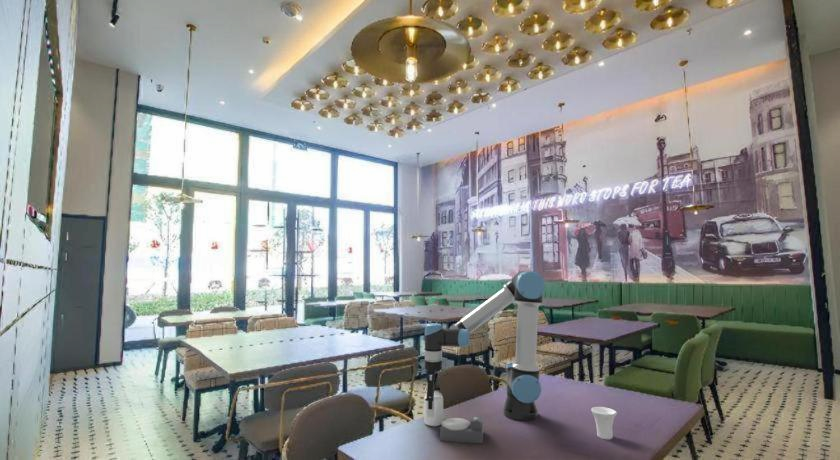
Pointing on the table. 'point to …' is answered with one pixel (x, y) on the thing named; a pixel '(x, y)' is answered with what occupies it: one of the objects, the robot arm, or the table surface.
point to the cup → (604, 421)
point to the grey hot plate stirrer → (462, 430)
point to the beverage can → (437, 410)
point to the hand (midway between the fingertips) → (433, 411)
